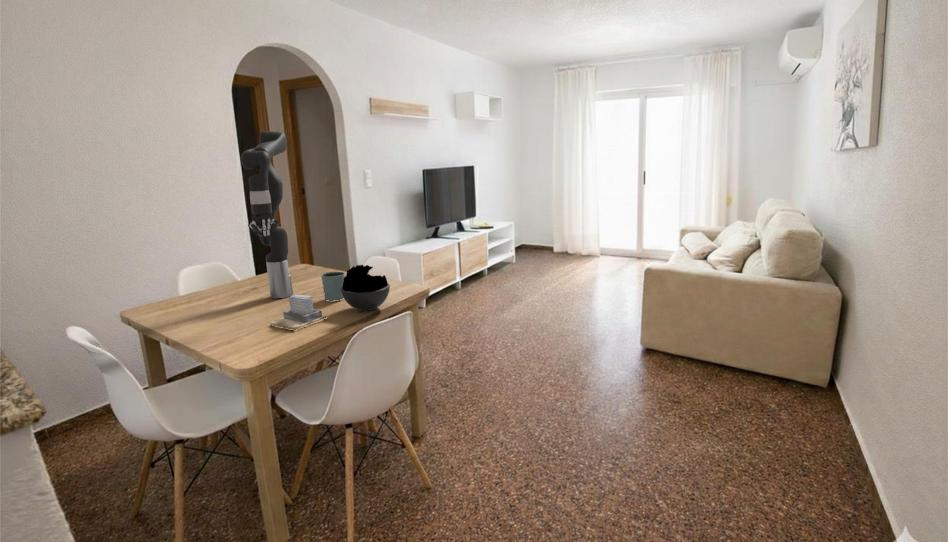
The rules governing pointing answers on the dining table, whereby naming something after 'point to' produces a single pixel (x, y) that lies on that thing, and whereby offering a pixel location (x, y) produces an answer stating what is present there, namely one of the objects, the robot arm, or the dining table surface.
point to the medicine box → (301, 304)
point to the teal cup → (333, 285)
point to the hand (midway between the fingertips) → (266, 244)
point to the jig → (297, 319)
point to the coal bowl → (364, 288)
